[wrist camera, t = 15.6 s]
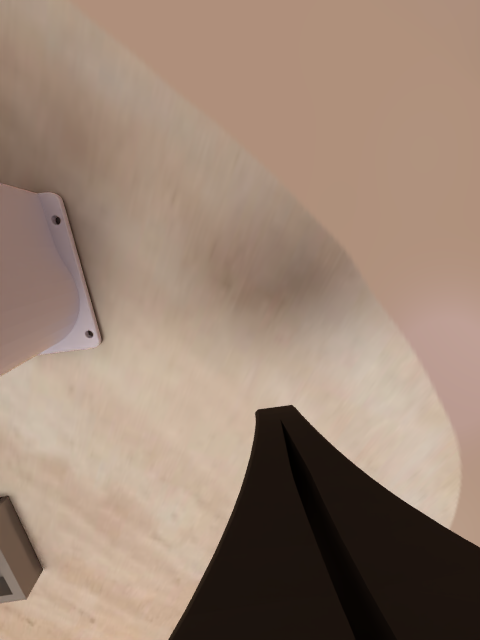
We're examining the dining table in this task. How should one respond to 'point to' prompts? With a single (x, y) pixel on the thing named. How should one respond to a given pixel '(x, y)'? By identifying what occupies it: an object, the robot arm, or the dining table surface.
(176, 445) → the dining table surface
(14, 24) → the dining table surface
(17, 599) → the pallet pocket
